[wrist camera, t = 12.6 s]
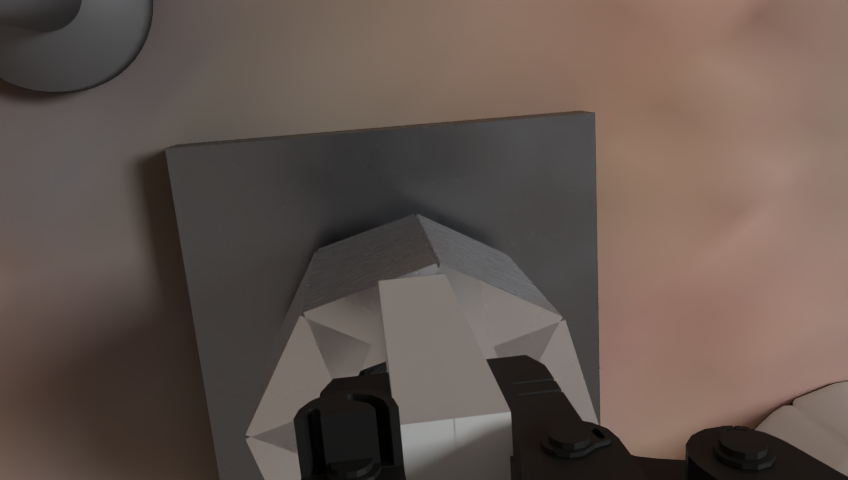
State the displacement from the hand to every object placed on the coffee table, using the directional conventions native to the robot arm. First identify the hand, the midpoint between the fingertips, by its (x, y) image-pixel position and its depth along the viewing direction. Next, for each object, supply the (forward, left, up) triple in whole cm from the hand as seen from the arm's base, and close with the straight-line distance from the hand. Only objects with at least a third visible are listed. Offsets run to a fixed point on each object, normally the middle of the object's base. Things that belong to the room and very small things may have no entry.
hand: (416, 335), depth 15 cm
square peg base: (+3, 0, -9) cm, 10 cm away
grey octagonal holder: (+3, 0, -6) cm, 7 cm away
